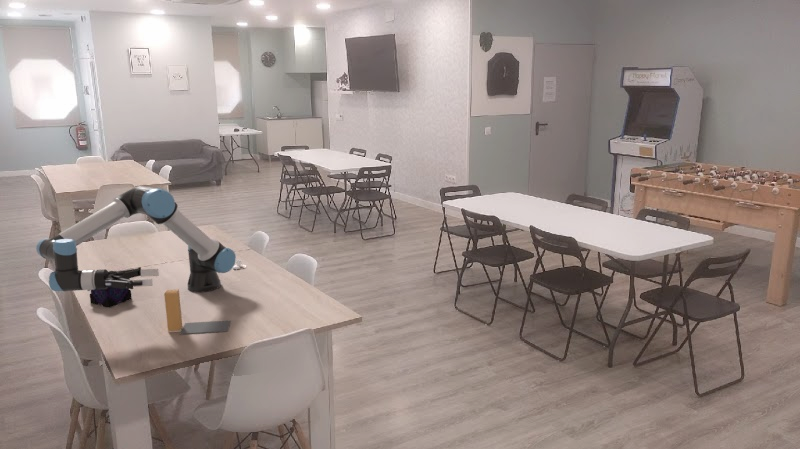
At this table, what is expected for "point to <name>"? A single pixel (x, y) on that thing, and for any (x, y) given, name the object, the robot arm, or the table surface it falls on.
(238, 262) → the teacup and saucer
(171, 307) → the tall block
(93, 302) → the energy cube
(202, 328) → the mat
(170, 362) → the table surface
